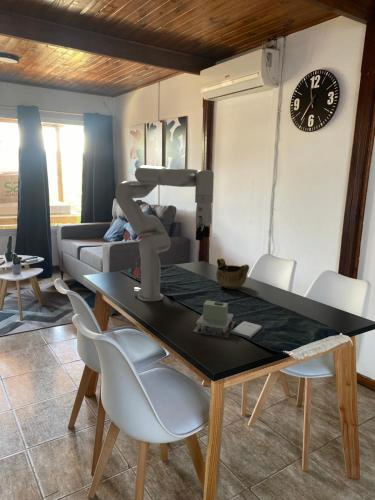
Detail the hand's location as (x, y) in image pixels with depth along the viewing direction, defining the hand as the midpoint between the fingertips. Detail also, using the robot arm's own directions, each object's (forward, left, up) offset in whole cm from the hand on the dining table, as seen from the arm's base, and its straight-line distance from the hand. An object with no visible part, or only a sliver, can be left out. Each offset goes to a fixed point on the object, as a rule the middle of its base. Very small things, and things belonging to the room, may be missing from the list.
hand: (202, 238), depth 162 cm
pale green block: (+11, -16, -29) cm, 35 cm away
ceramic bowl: (+6, +41, -34) cm, 53 cm away
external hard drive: (+24, -14, -34) cm, 44 cm away
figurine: (-44, +39, -34) cm, 68 cm away
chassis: (+11, -16, -33) cm, 39 cm away
